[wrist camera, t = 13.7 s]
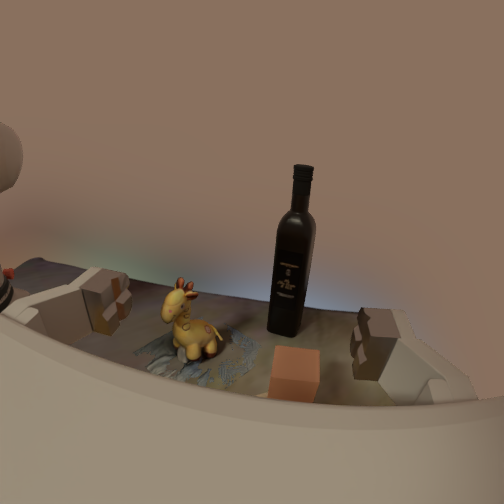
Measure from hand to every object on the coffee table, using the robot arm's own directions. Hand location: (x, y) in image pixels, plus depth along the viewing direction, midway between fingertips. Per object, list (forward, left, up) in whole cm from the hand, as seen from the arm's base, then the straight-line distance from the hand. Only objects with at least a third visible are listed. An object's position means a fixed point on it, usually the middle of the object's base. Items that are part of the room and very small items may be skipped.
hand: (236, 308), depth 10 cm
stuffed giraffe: (-28, +4, -31) cm, 42 cm away
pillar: (-9, +9, -25) cm, 28 cm away
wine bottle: (-31, +21, -30) cm, 48 cm away
